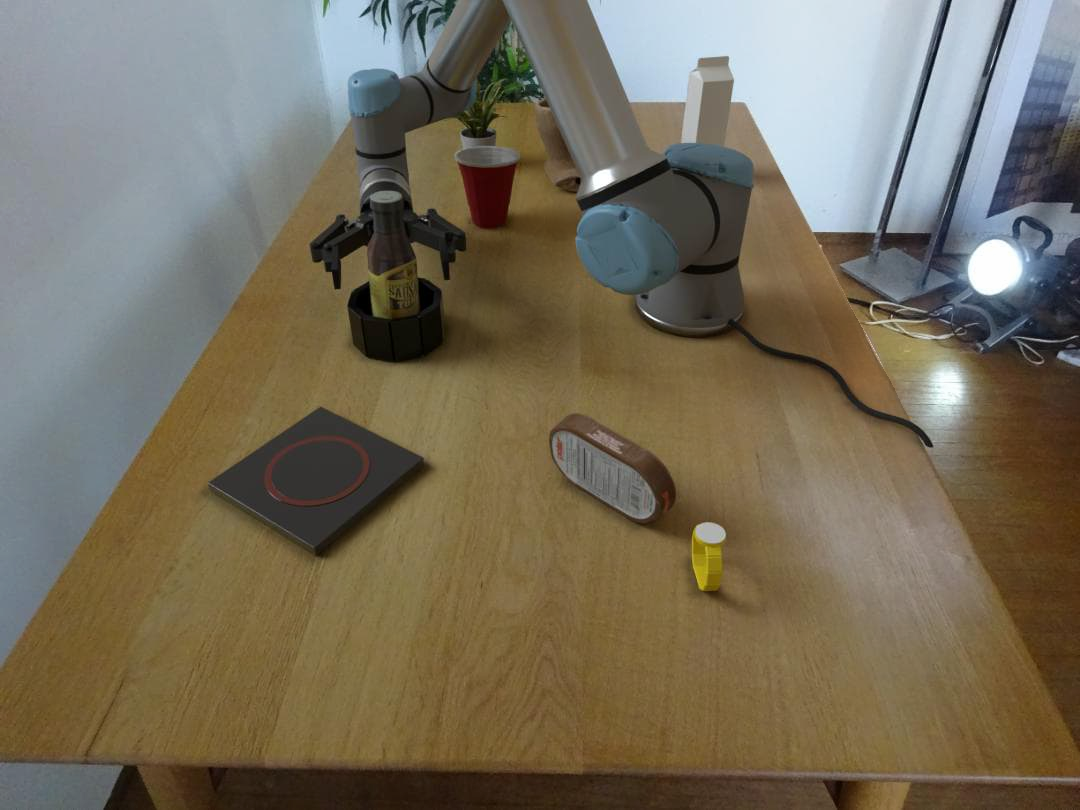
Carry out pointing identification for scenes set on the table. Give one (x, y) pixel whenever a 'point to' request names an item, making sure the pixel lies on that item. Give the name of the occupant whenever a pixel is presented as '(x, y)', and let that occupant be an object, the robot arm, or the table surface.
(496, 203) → the plastic cup
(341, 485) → the hob plate
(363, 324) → the bottle holder
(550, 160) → the clay boot vase
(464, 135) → the house plant
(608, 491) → the tin
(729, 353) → the table surface
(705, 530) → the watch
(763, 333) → the table surface
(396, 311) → the sauce bottle
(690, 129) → the milk
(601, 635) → the table surface
